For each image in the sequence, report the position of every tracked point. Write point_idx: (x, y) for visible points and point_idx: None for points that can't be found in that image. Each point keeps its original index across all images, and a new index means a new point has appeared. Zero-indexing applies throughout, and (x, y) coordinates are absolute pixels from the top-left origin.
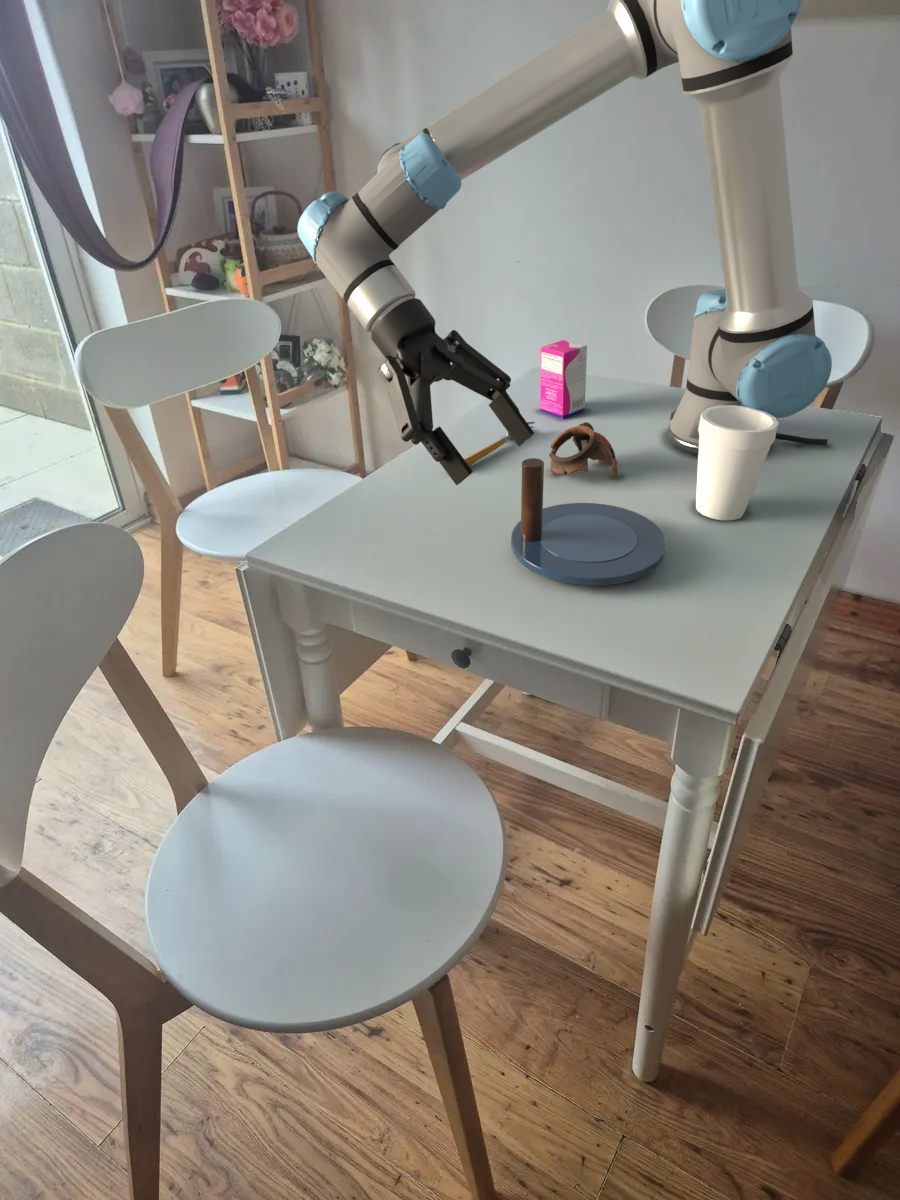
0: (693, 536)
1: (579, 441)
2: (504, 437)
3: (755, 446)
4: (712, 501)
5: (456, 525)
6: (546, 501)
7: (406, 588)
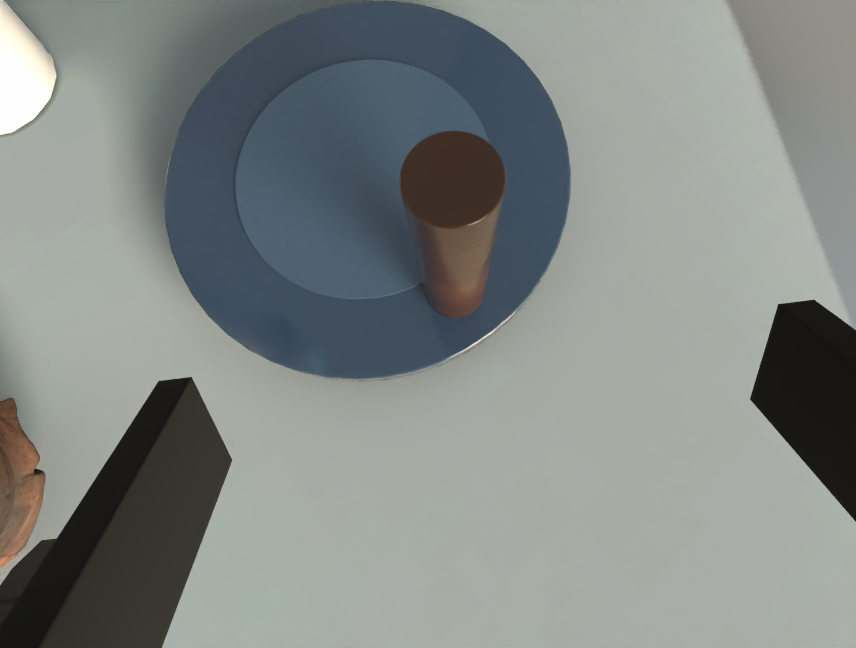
0: (155, 68)
1: None
2: None
3: None
4: (21, 43)
5: (474, 575)
6: None
7: None
